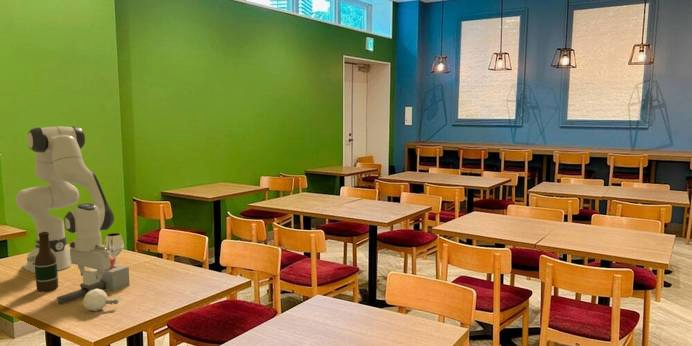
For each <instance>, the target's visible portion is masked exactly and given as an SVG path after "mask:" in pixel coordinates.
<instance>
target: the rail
mask: <svg viewBox="0 0 692 346" xmlns="http://www.w3.org/2000/svg"><path fill="white" fill-rule="evenodd" d="M104 289H105V283H103V291H104ZM105 290H106V289H105ZM87 293H88V289H87V288H83V289H81V288H80V289H78V290H75V291H72V292H68V293H66V294H63V295H59V296H57V297H56V303H58V305H61V304H62V305H64V303H65V304H68V303H70V302H73V301H75V300H78V298H79V299H81V297H82V298H84V296H85V295H86V294H87Z"/></svg>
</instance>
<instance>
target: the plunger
mask: <svg viewBox="0 0 692 346" xmlns="http://www.w3.org/2000/svg"><path fill="white" fill-rule="evenodd" d="M114 262H115V258H113V257H112V256H111V257H110V263H111V266H110V268H109V269H113V268H114Z"/></svg>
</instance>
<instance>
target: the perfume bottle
mask: <svg viewBox="0 0 692 346" xmlns="http://www.w3.org/2000/svg"><path fill="white" fill-rule="evenodd" d="M117 304H119V299H118V298H114V299H111V300H110V299H108V294H107V293H106V292H105V291H104V290H100V289H94V290H91V291H89V292H88V293H87V294H86V295H85V297H83V306H84V307H85V308H86V309H87V310H88V311H92V312H97V311H100V310H102V309H104V307H106V305H117Z"/></svg>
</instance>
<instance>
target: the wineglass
mask: <svg viewBox="0 0 692 346" xmlns="http://www.w3.org/2000/svg"><path fill="white" fill-rule="evenodd" d="M103 245H104V246H103V247H105V248H106V250H107V251H108V253H109V256H111V257H113V258H115V262H114V264H117V257H118V256H119V255H120V254H121V253H122V251H123V250H124V248H125V244H124V241H123V238H122V234H121V233H118V232H115V233H113V232H112V233H108V234H106V236H105V240H104V244H103Z"/></svg>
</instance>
